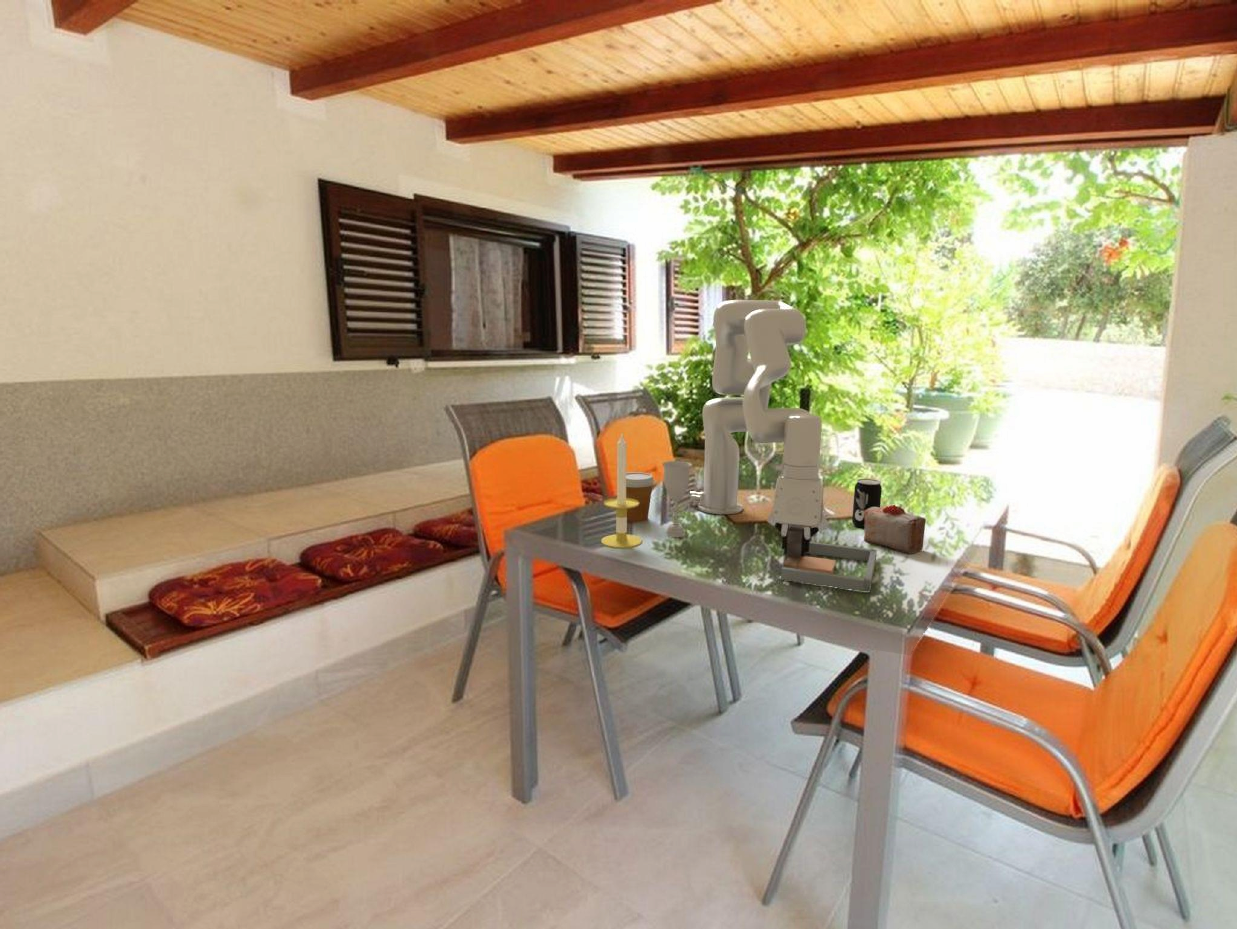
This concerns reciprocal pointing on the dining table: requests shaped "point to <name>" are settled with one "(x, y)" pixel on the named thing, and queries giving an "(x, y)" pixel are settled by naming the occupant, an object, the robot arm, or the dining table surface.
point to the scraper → (794, 546)
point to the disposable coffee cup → (639, 495)
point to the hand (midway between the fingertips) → (795, 552)
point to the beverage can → (865, 499)
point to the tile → (816, 564)
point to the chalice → (676, 490)
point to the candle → (621, 505)
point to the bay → (834, 579)
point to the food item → (894, 528)
